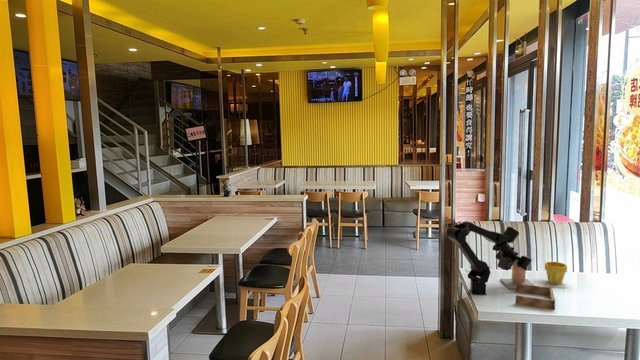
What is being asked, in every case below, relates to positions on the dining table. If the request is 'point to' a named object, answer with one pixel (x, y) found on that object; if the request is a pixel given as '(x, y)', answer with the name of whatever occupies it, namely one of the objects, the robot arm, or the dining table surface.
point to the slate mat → (513, 283)
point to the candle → (518, 273)
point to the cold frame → (532, 300)
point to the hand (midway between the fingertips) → (521, 268)
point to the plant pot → (555, 271)
